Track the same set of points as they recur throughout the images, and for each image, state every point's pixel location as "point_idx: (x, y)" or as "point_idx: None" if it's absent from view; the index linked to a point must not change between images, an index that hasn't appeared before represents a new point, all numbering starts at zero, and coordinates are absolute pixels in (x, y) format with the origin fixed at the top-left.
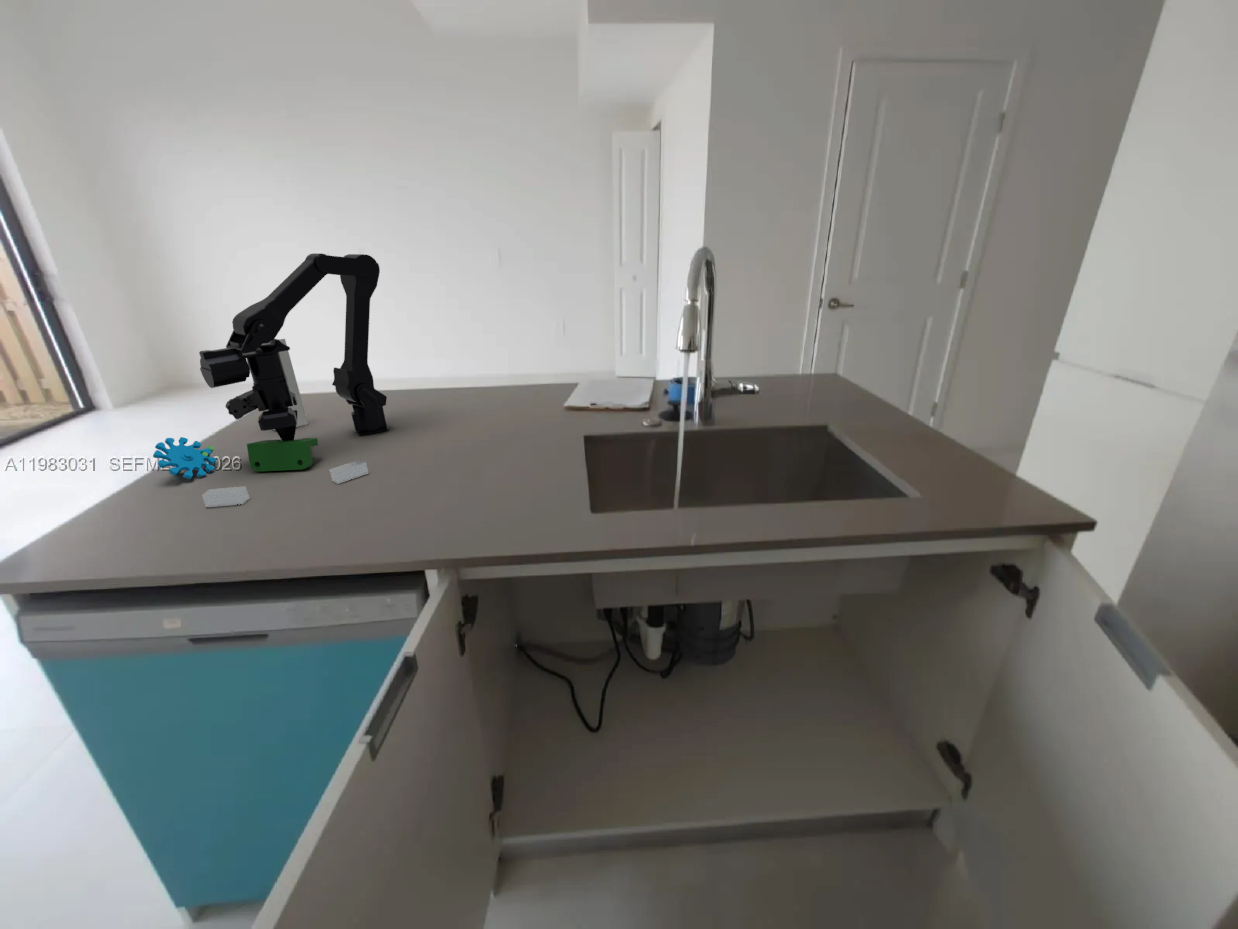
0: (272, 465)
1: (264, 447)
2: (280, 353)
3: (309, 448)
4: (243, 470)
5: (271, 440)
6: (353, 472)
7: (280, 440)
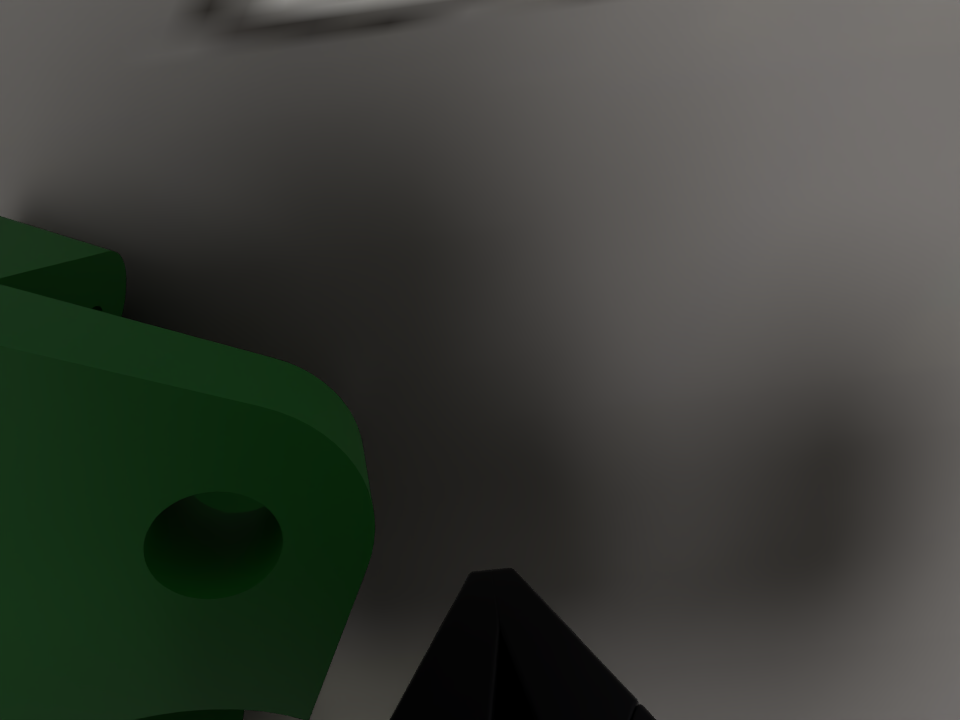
0: None
1: None
2: None
3: None
4: (184, 72)
5: (214, 607)
6: None
7: (282, 701)
